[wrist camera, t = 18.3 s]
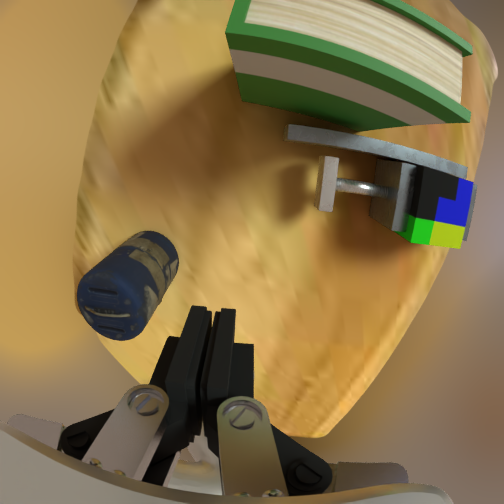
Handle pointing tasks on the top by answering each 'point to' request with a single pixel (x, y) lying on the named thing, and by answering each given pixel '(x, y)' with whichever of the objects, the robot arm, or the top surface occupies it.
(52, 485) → the robot arm
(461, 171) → the vise body
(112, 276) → the canister
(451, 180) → the puzzle toy
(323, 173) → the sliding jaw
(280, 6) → the hardback book
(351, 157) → the top surface
